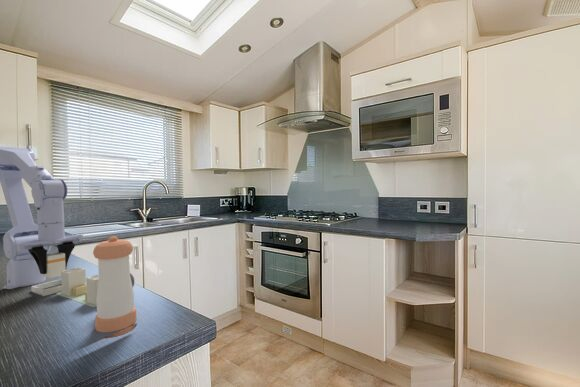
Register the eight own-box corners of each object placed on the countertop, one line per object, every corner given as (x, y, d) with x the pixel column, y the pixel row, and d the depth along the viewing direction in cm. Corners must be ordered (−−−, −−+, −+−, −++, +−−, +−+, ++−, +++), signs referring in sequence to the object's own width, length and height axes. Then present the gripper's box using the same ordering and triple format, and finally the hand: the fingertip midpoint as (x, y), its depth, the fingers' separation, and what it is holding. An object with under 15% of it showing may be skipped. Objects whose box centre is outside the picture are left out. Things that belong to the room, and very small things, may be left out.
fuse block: (55, 298, 78) (55, 286, 78) (80, 290, 83) (80, 279, 83) (94, 312, 68) (93, 298, 68) (119, 303, 73) (119, 290, 73)
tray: (31, 295, 80) (31, 286, 80) (63, 287, 86) (63, 278, 86) (43, 300, 76) (43, 290, 76) (76, 291, 83) (75, 282, 83)
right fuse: (87, 301, 72) (86, 277, 71) (104, 296, 75) (103, 273, 75) (95, 304, 70) (94, 280, 69) (112, 298, 73) (112, 275, 73)
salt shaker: (91, 341, 55) (87, 241, 54) (99, 325, 62) (95, 235, 61) (135, 333, 58) (131, 237, 57) (138, 318, 65) (134, 232, 64)
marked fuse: (41, 276, 80) (40, 254, 80) (59, 272, 84) (58, 251, 84) (48, 278, 78) (47, 256, 78) (66, 274, 82) (65, 253, 82)
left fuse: (61, 293, 78) (60, 271, 78) (78, 288, 81) (77, 267, 81) (69, 295, 76) (68, 272, 76) (86, 290, 79) (85, 268, 79)
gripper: (23, 227, 72) (26, 281, 73) (87, 220, 85) (89, 266, 85) (12, 225, 76) (14, 277, 76) (75, 219, 88) (77, 263, 89)
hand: (53, 271), depth 81 cm, fingers closed on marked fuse, 4 cm apart
